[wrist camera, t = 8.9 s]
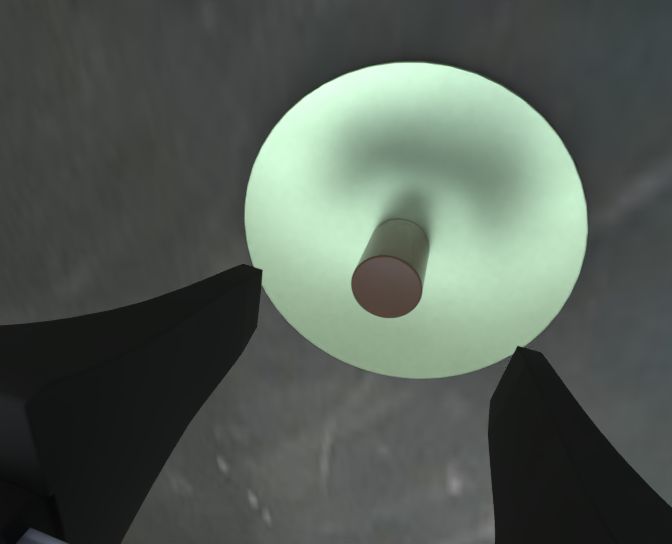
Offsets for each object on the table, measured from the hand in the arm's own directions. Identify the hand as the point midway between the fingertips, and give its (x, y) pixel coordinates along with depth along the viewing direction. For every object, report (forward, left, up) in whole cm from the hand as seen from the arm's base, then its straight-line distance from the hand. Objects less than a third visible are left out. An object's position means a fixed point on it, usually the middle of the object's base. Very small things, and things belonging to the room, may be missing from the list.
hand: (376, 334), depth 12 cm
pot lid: (0, 0, -7) cm, 7 cm away
